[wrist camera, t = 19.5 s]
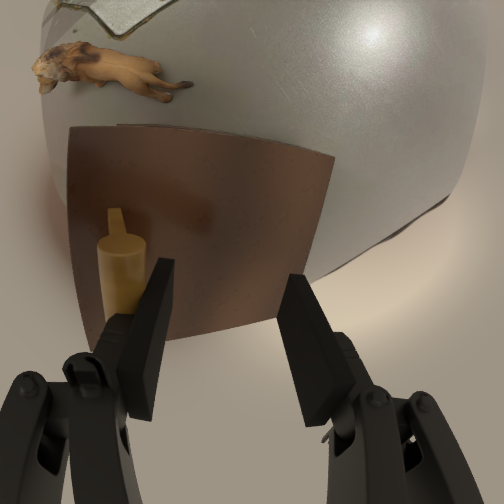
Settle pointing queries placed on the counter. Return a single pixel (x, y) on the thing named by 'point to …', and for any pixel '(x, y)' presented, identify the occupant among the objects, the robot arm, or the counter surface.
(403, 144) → the counter surface
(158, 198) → the chest lid
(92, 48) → the lion figurine
